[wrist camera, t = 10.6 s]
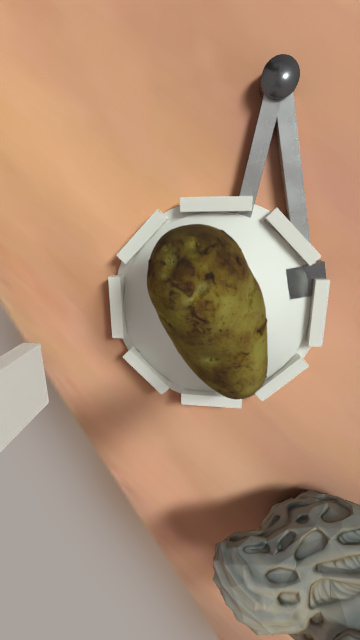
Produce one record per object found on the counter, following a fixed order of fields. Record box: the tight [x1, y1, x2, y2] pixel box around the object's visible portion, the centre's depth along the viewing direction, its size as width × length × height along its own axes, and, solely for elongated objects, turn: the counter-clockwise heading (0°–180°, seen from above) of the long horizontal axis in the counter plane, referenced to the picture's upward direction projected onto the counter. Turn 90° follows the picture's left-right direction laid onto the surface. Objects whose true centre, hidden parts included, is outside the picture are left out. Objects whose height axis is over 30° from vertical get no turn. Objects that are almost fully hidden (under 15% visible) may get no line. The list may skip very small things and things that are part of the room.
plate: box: [108, 196, 330, 408], centre depth 26 cm, size 17×17×2 cm
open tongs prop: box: [235, 54, 326, 300], centre depth 23 cm, size 16×9×1 cm, turn 0°
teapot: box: [213, 490, 360, 640], centre depth 24 cm, size 21×12×15 cm, turn 77°
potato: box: [147, 224, 268, 399], centre depth 22 cm, size 8×13×8 cm, turn 2°
